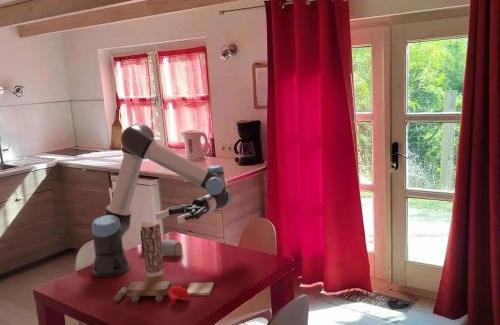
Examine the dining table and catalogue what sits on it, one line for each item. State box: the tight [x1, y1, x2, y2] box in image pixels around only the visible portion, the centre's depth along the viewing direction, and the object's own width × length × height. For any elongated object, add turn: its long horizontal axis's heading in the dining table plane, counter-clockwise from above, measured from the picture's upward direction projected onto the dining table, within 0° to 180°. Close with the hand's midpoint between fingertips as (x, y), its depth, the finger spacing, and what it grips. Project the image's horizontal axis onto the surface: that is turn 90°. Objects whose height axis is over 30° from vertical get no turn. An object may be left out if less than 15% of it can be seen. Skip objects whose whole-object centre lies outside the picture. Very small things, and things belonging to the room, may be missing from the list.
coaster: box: [186, 281, 214, 297], centre depth 180 cm, size 9×9×1 cm
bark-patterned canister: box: [140, 220, 165, 282], centre depth 187 cm, size 7×7×25 cm
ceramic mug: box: [161, 239, 183, 258], centre depth 220 cm, size 11×8×8 cm
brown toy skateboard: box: [113, 280, 172, 303], centre depth 177 cm, size 20×8×5 cm, turn 85°
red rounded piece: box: [167, 285, 190, 306], centre depth 171 cm, size 8×6×6 cm
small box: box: [139, 224, 162, 252], centre depth 231 cm, size 11×6×10 cm, turn 168°
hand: (166, 218), depth 192 cm, fingers open, 13 cm apart
